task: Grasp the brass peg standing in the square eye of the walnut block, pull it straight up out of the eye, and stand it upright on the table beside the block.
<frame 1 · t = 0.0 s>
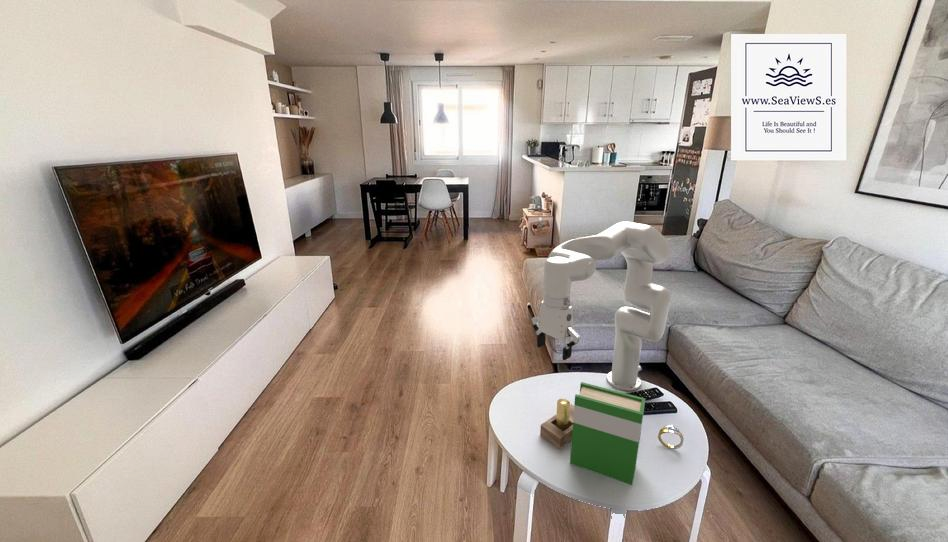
hand: (553, 351, 120), 31 cm above the table, tool pointing down, fingers open, 9 cm apart
peg: (561, 433, 131), resting in eye block
eye block: (565, 430, 132), on the table
ring: (668, 448, 124), on the table
hardback book: (602, 465, 118), on the table
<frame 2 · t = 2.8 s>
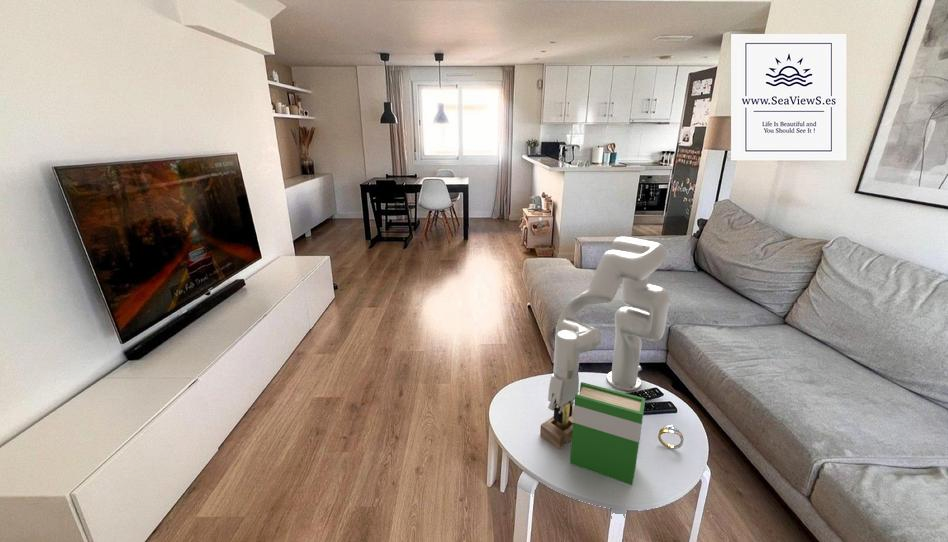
hand: (562, 417, 129), 6 cm above the table, tool pointing down, fingers closed on peg, 4 cm apart
peg: (561, 433, 131), resting in eye block, touching gripper
everything else where it was.
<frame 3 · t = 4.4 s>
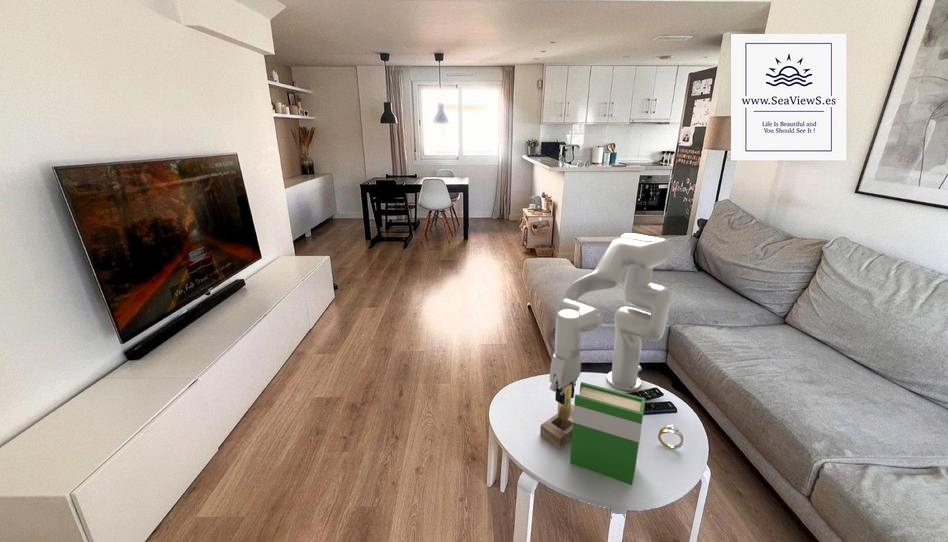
hand: (564, 398, 127), 13 cm above the table, tool pointing down, fingers closed on peg, 4 cm apart
peg: (563, 414, 129), point 7 cm above the table, touching gripper
everything else where it was.
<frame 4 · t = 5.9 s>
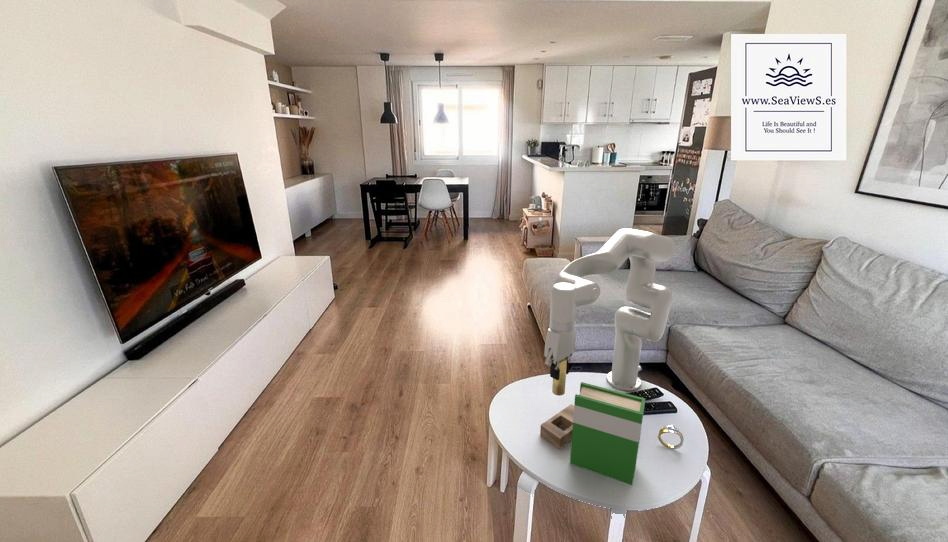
hand: (559, 374, 126), 21 cm above the table, tool pointing down, fingers closed on peg, 4 cm apart
peg: (558, 391, 128), point 15 cm above the table, touching gripper
everything else where it was.
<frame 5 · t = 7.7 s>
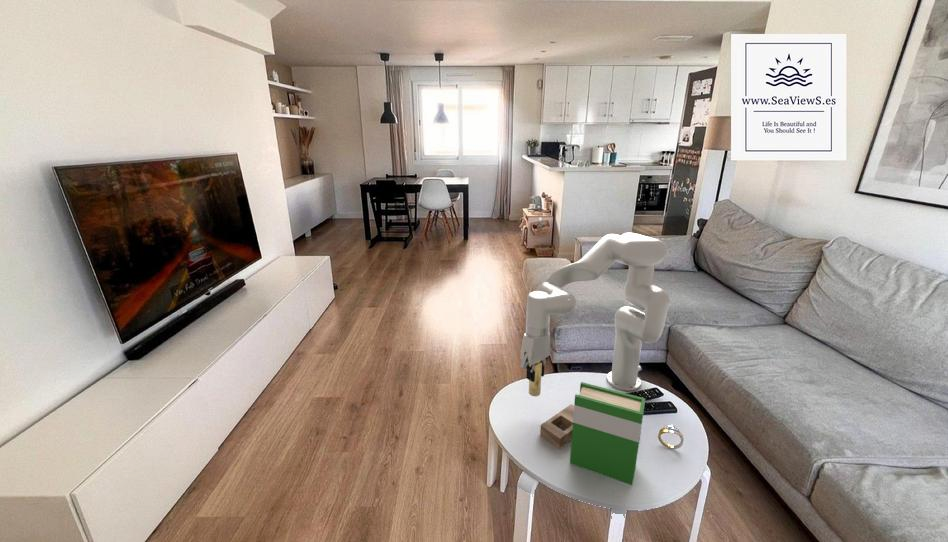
hand: (535, 376, 135), 16 cm above the table, tool pointing down, fingers closed on peg, 4 cm apart
peg: (534, 392, 137), point 9 cm above the table, touching gripper
everything else where it was.
when the fingers open (8 cm above the table, at t = 9.4 s): peg drops 1 cm, on the table.
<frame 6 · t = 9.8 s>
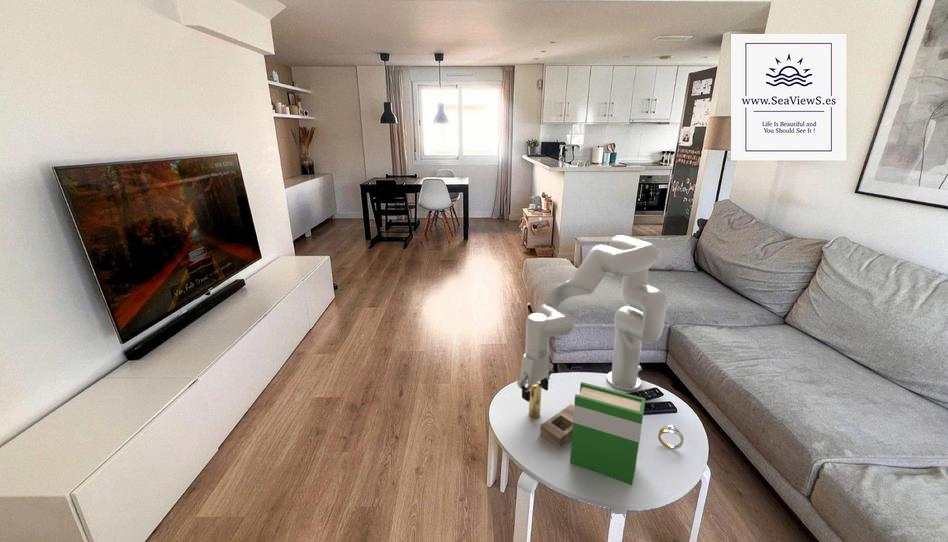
hand: (535, 393, 137), 9 cm above the table, tool pointing down, fingers open, 8 cm apart
peg: (534, 414, 140), on the table
everything else where it was.
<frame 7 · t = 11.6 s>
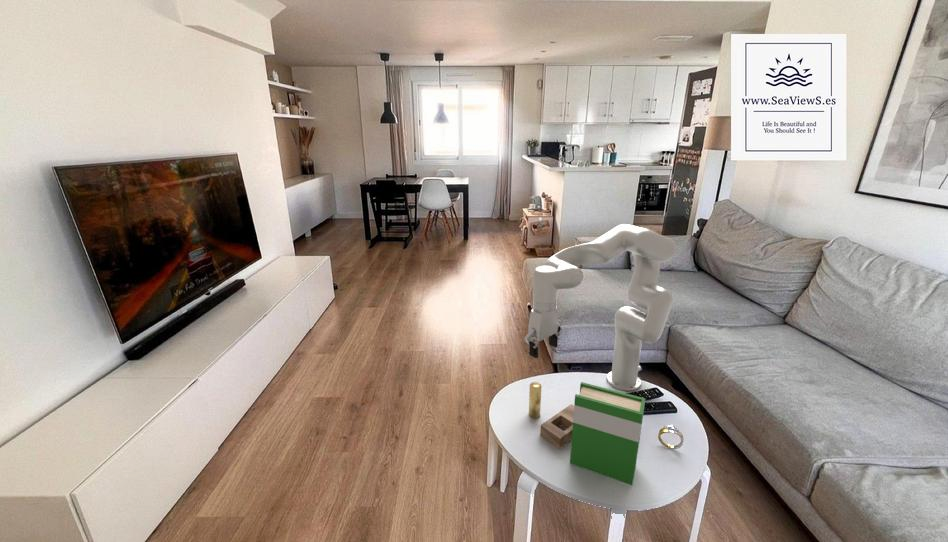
hand: (543, 351, 133), 25 cm above the table, tool pointing down, fingers open, 9 cm apart
nothing on the table moved.
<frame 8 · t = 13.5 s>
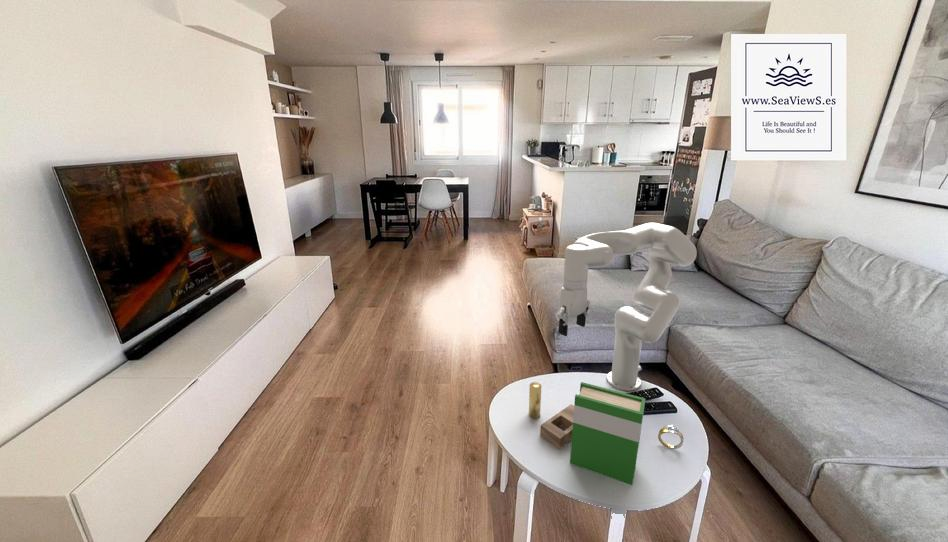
hand: (571, 329, 135), 30 cm above the table, tool pointing down, fingers open, 9 cm apart
nothing on the table moved.
at the end: peg inside the target area (0.0 cm from its centre), on the table; peg tilted 0°; peg touching table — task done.
